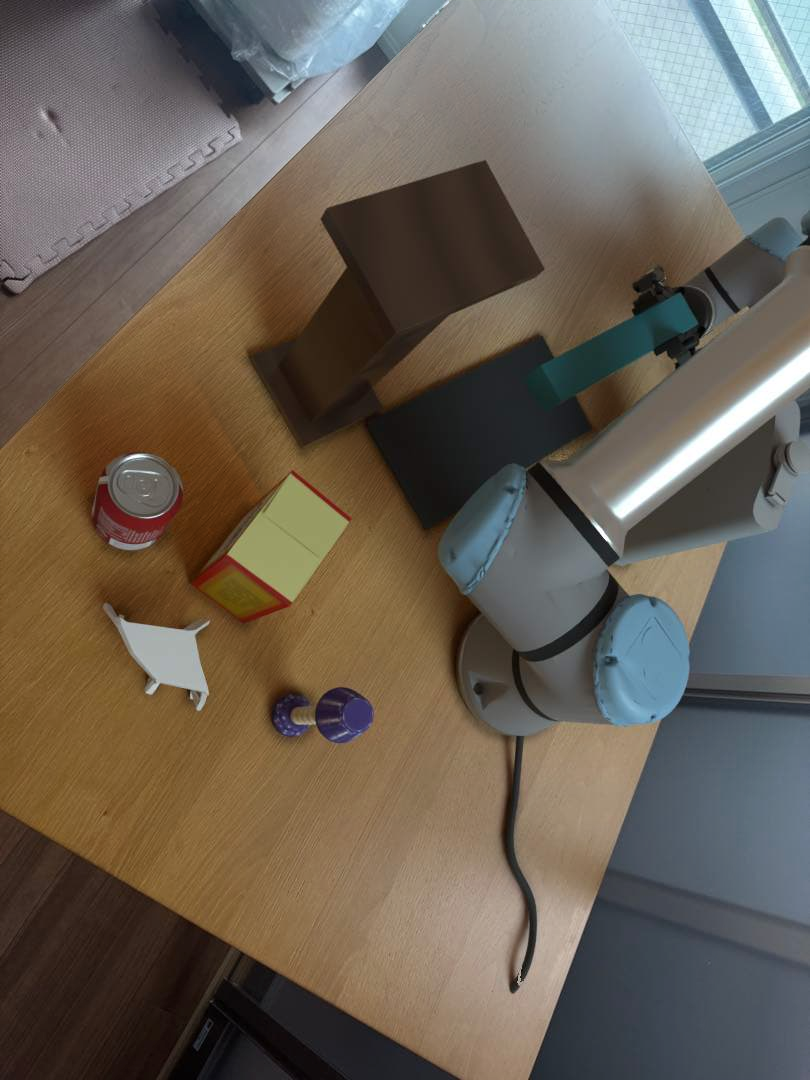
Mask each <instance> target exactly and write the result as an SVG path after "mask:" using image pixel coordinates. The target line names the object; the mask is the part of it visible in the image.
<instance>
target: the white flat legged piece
mask: <svg viewBox="0 0 810 1080" xmlns="http://www.w3.org/2000/svg"><path fill="white" fill-rule="evenodd" d="M102 609H103V610H104V612H105V613H106V615H107V616H108V617H109V618H110V620H111V621H112V622H113V623H114V625H115V627H116V629H117V630H118V632H119V634H120V636H121V638H122V641H123V643H124V644H125V647H126V650H127V651H128V653H129V655H130V656H131V657H132V659H134V660H135V661H136V662H137V664H138V665H139V666H140V667H141V668H142V669H143V671H144V672H145V673H146V674H147V675H148V676H149V677H148V679H147V680H146V684H145V687H144V693H145V694H147V695H150V696H152V695H153V694H154V693H155V691H156V690H157V688H158V687H159V685H160V684H163V685H166V686H167V685H168V686H170V687H171V686H172V687H177V688H181V689H185V690H190V692H189V693H190V694H189V699H190V700H193V704H194V707H195V708H194V709H195V710H197V711H198V712H201V710H202V709H203V707H204V706H205V704H206V701H207V698H208V696H210V692H209V688H208V684H207V680H206V675H205V673H204V670H203V667H202V663H201V660H200V654H199V649H198V644H197V640H196V635H197V633H199V631H200V630H202V629H204V628H205V627H207V626H208V625H209V624H210V622H211V619H207V618H198V619H197V620H195V621H194V622H192V623H190V624H189V625H187V626H185V627H184V628H182V629H179V628H172V627H166V626H159V625H158V626H157V625H150V624H143V623H137V622H130V621H126V619H125V615H123V614H121V613H120V614H119V615H117V613H116V612H115V610H114V608H113V606H112V605H111V604H109V603H107V602H104V604H103V606H102ZM197 692H199V693H200V696H199V695H198V693H197Z"/></svg>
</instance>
